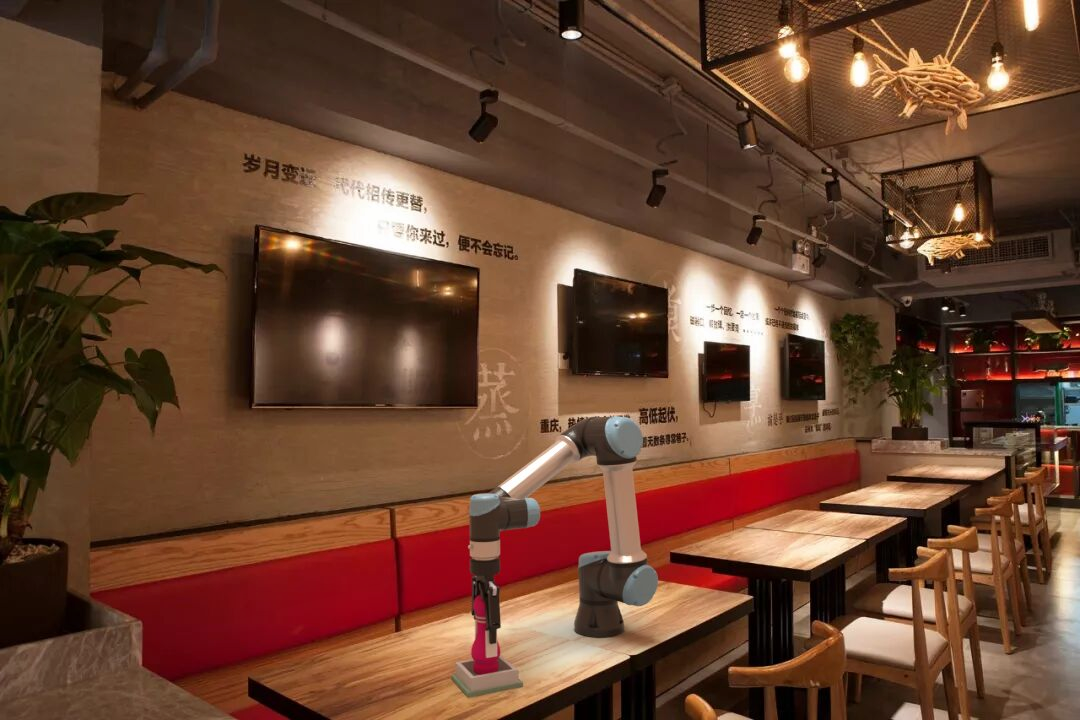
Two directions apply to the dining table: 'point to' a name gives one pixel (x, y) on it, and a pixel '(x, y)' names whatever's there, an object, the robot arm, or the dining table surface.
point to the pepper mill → (482, 643)
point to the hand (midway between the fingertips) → (485, 651)
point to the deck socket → (486, 678)
